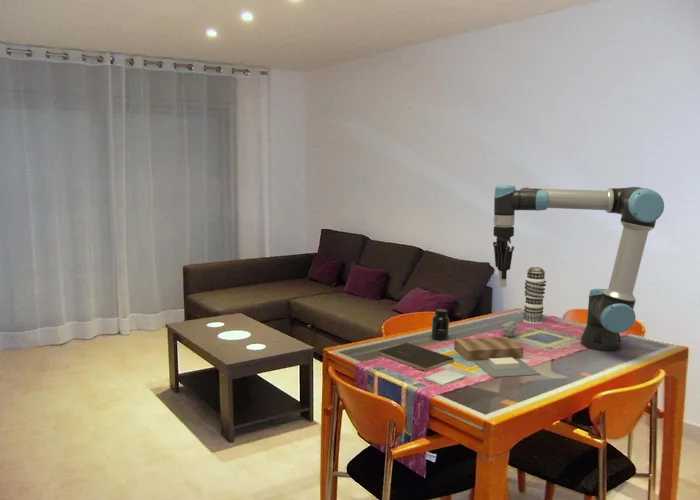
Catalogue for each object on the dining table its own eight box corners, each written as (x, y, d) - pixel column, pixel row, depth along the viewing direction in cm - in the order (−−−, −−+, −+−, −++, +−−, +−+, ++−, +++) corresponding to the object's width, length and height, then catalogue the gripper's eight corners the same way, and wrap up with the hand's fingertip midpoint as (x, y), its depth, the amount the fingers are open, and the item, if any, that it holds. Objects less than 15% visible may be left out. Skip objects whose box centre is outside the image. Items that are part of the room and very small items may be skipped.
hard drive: (447, 368, 214) (423, 376, 206) (465, 375, 208) (441, 384, 200) (446, 373, 214) (422, 381, 206) (465, 380, 208) (441, 388, 200)
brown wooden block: (506, 346, 243) (507, 336, 242) (522, 358, 229) (523, 347, 229) (454, 348, 239) (454, 339, 238) (467, 361, 225) (468, 350, 225)
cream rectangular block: (519, 363, 217) (519, 368, 218) (512, 357, 223) (511, 362, 224) (495, 364, 216) (495, 369, 216) (488, 358, 222) (488, 363, 222)
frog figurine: (518, 339, 252) (519, 323, 251) (500, 338, 254) (501, 321, 253) (518, 335, 258) (519, 319, 257) (501, 333, 260) (502, 318, 259)
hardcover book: (424, 373, 214) (424, 367, 214) (379, 356, 231) (379, 350, 230) (453, 363, 224) (453, 357, 224) (407, 347, 241) (408, 342, 241)
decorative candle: (544, 325, 274) (547, 270, 270) (522, 323, 276) (526, 269, 272) (542, 319, 283) (546, 266, 279) (522, 318, 285) (525, 265, 281)
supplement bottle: (440, 341, 247) (441, 313, 246) (428, 337, 253) (429, 309, 251) (451, 338, 252) (452, 310, 250) (439, 334, 257) (440, 307, 255)
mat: (519, 359, 228) (519, 358, 228) (540, 374, 213) (540, 373, 213) (473, 361, 225) (473, 361, 225) (491, 377, 209) (491, 376, 209)
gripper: (487, 224, 236) (485, 283, 240) (502, 228, 224) (500, 291, 227) (505, 223, 238) (503, 282, 241) (521, 227, 225) (519, 289, 229)
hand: (502, 286), depth 234 cm, fingers closed
